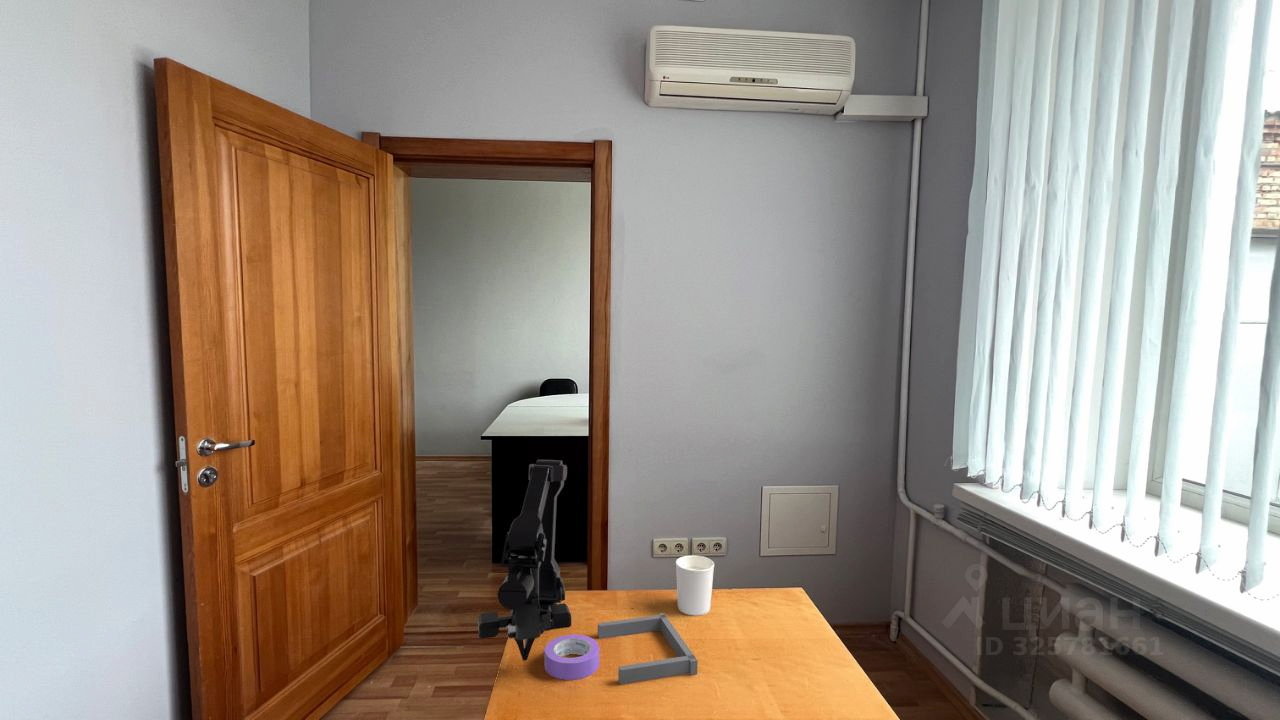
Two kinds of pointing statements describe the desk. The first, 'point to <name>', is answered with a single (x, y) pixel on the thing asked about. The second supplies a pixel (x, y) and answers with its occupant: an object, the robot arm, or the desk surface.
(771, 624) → the desk surface
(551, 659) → the masking tape
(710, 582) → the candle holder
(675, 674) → the grey bay
